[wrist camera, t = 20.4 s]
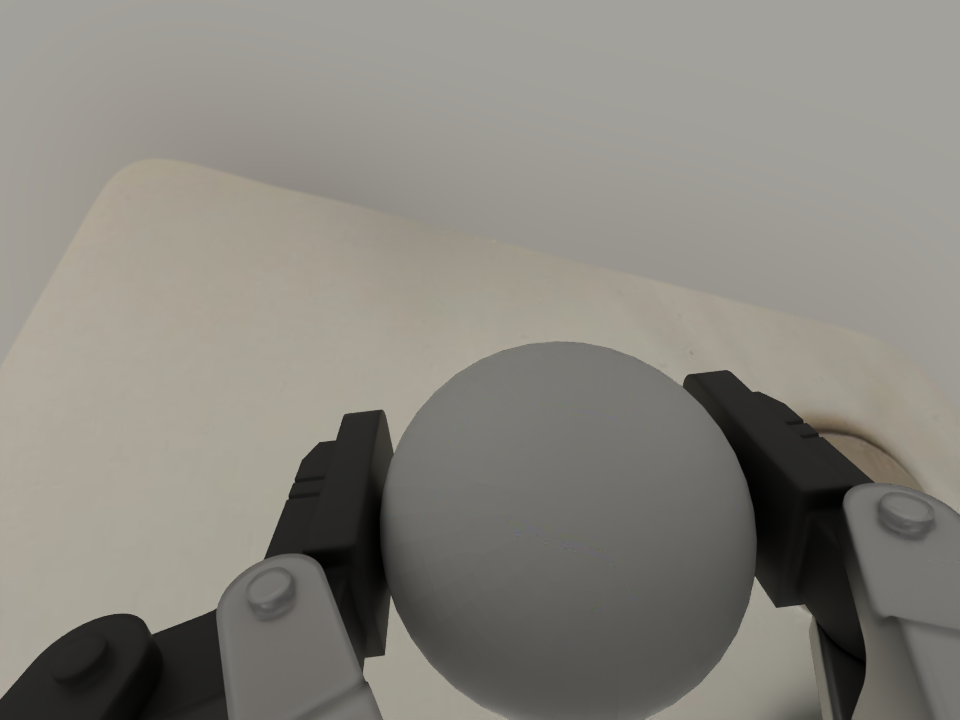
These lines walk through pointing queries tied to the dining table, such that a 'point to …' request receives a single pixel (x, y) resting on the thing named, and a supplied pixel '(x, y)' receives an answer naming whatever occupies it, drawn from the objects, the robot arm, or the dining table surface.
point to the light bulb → (568, 535)
